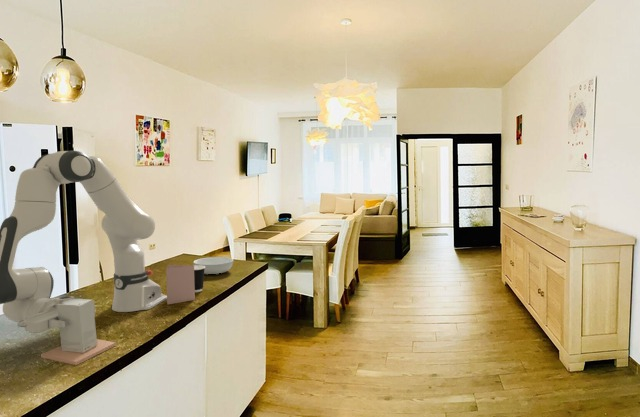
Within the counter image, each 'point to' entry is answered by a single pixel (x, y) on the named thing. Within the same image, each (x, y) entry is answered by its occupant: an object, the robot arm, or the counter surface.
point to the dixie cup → (198, 277)
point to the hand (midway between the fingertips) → (80, 318)
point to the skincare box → (77, 325)
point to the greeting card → (180, 283)
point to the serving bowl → (215, 264)
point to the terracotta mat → (77, 353)
